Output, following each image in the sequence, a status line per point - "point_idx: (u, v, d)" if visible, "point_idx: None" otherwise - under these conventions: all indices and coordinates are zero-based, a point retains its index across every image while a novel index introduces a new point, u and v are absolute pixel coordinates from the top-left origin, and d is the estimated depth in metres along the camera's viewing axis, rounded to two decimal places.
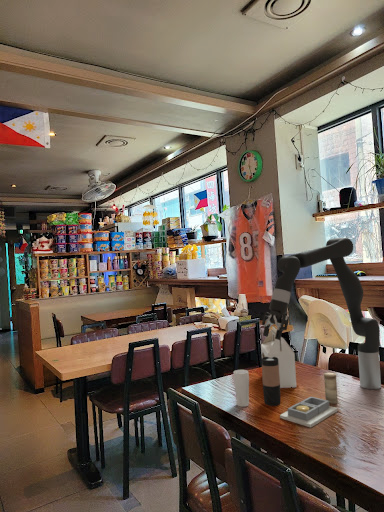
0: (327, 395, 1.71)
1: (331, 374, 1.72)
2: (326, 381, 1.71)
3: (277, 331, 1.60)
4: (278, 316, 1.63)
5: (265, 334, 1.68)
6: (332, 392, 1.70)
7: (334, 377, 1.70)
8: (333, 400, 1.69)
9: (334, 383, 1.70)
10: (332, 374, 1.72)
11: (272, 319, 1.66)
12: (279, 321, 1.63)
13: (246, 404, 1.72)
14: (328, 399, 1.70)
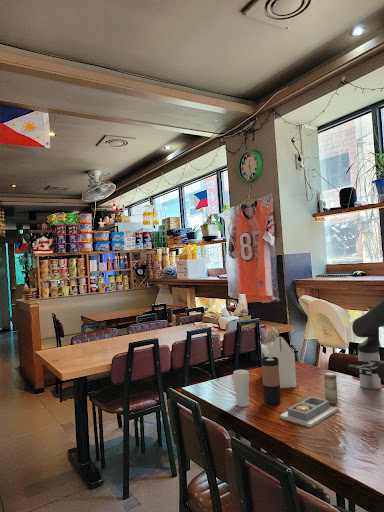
0: (327, 395, 1.71)
1: (331, 374, 1.72)
2: (326, 381, 1.71)
3: None
4: None
5: None
6: (332, 392, 1.70)
7: (334, 377, 1.70)
8: (333, 400, 1.69)
9: (334, 383, 1.70)
10: (332, 374, 1.72)
11: None
12: None
13: (246, 404, 1.72)
14: (328, 399, 1.70)
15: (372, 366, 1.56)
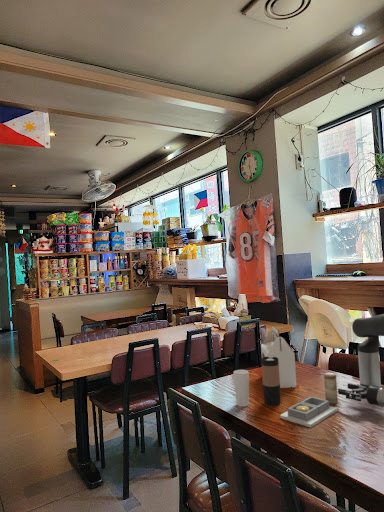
0: (327, 395, 1.71)
1: (331, 374, 1.72)
2: (326, 381, 1.71)
3: None
4: None
5: None
6: (332, 392, 1.70)
7: (334, 377, 1.70)
8: (333, 400, 1.69)
9: (334, 383, 1.70)
10: (332, 374, 1.72)
11: None
12: None
13: (246, 404, 1.72)
14: (328, 399, 1.70)
15: (361, 391, 1.60)
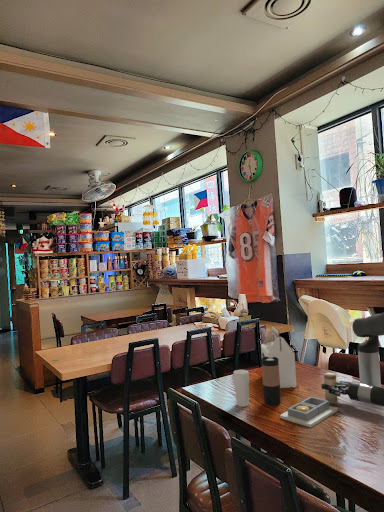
0: (327, 395, 1.71)
1: (331, 374, 1.72)
2: (326, 381, 1.71)
3: None
4: None
5: None
6: None
7: (334, 377, 1.70)
8: (333, 399, 1.69)
9: (334, 383, 1.70)
10: (332, 374, 1.72)
11: None
12: None
13: (246, 404, 1.72)
14: (328, 399, 1.70)
15: (343, 387, 1.66)
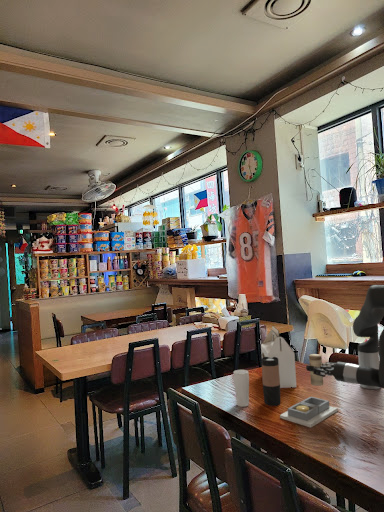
0: (312, 377, 1.63)
1: (316, 355, 1.64)
2: (311, 362, 1.63)
3: None
4: None
5: None
6: None
7: (319, 358, 1.62)
8: (318, 381, 1.61)
9: (319, 364, 1.62)
10: (317, 355, 1.64)
11: None
12: None
13: (246, 404, 1.72)
14: (313, 381, 1.62)
15: (328, 367, 1.57)
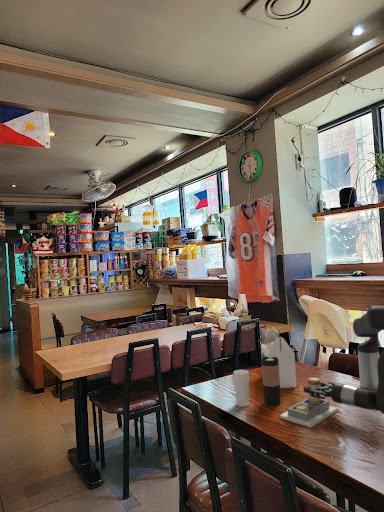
0: (310, 401, 1.61)
1: (315, 379, 1.63)
2: None
3: None
4: None
5: None
6: (315, 398, 1.60)
7: (318, 382, 1.60)
8: None
9: None
10: (316, 379, 1.63)
11: None
12: None
13: (246, 404, 1.72)
14: None
15: (326, 389, 1.56)
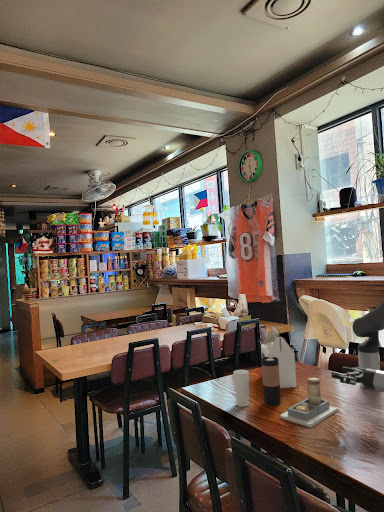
0: (310, 401, 1.61)
1: (314, 379, 1.63)
2: (309, 387, 1.61)
3: None
4: None
5: None
6: (315, 398, 1.60)
7: (317, 382, 1.61)
8: None
9: (317, 389, 1.60)
10: (315, 379, 1.63)
11: None
12: None
13: (246, 404, 1.72)
14: None
15: (357, 374, 1.47)
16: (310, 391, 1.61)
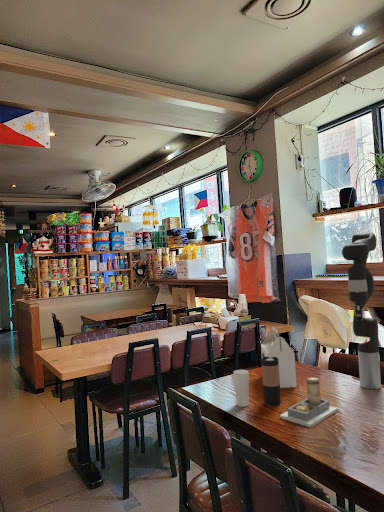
0: (310, 401, 1.61)
1: (314, 379, 1.63)
2: (309, 387, 1.61)
3: (362, 318, 1.70)
4: None
5: None
6: (315, 398, 1.60)
7: (317, 382, 1.61)
8: None
9: (317, 389, 1.60)
10: (315, 379, 1.63)
11: None
12: None
13: (246, 404, 1.72)
14: None
15: None
16: (310, 391, 1.61)
